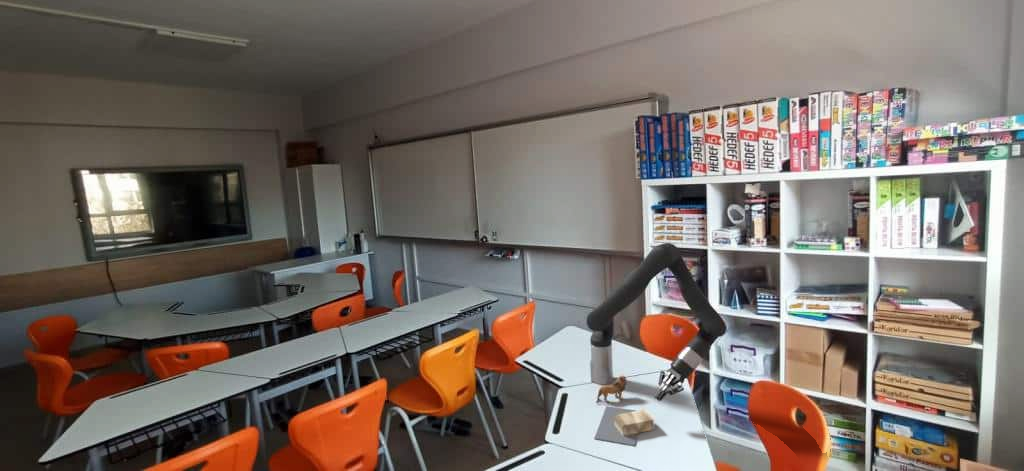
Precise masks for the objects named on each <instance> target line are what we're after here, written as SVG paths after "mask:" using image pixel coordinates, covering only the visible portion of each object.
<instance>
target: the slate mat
mask: <svg viewBox="0 0 1024 471" xmlns="http://www.w3.org/2000/svg"><path fill="white" fill-rule="evenodd" d="M633 411H637V410H635V409H630V408H629V409H627V408H622V407H616V406H615V407H614V406H608V405H606V406H605V408H604V412H603V414H602V416H601V419H600V423H599V425H598V428H597V430H596V434H595V436H594V438H593V439H594V440H596V441H604V442H609V443H614V444H619V445H626V446H631V447H636V442H637V438H638V434H639V433H634V434H630V435H625V436H623V435H622V434H621V433H620V431H619V430H618V429H617V427H616V426H615V420H614V415H618V414H623V413H628V412H633Z"/></svg>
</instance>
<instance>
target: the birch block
mask: <svg viewBox="0 0 1024 471" xmlns="http://www.w3.org/2000/svg"><path fill="white" fill-rule="evenodd" d="M614 420H615V426H616V427H617V429H618V430H619V431H620V433H621V434H622V435H623V436H625V435H630V434H634V433H638V434H639V433H643V432H647V431H648V432H649V431H653V430H655V427H654V426H655V425H654V424H655V423H654V422H655V420H654V418H653V417H652V416H651V415H650V414H649V413H648V412H647V411H646V410H645V409H639V410H636V411H633V412H628V413H623V414H618V415H614Z"/></svg>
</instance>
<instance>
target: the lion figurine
mask: <svg viewBox="0 0 1024 471" xmlns="http://www.w3.org/2000/svg"><path fill="white" fill-rule="evenodd" d="M616 378H617V379H616V381H615V382H614V384H610V385H608V384H602V385H601V386H600V388H599V389H598V394H597V398H596V402H595V403H596V404H599V402H600V401H601V398H600V397H601V396H603V400H604V402H605V403H606V404H610V401H609V400H608V395H614V397H615V399H616V398H618V399H619V401H623V398H622V393H623V392H624V391H625V390H626V387H627V383H628V381H627V378H626V376H625V375H619V376H618V377H616Z"/></svg>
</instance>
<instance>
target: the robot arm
mask: <svg viewBox="0 0 1024 471" xmlns="http://www.w3.org/2000/svg"><path fill="white" fill-rule="evenodd" d="M683 258H684V257H683V256H682V254H681V252H680V250H679V249H678V247H677V246H676V245H675V244H673V243H671V242H665V243H661V244H658V245H655V246H654V247H653V248H652V249H651V250H650V251H649V253H648V254H647V255H646V256H645V258H644V259H643V260H642V261H641V262H640V264H639V265H638V266H637V267H636V268H634V269H633V270H632V271H631V272H629V274H628V275H627V276H625V277H624V278H623V279H622V280H621V281H620V282H618V283H619V284H617V285H616V287H614V289H613V290H612V291H611V292H610V294H609V295H607V297H606V298H605V300H604V301H603V302H602V303H600V304H599V305H598V306H597V307H595V308H594V309H593V310H591V311H590V312H589V313H588V314H587V316H586V321H585V322H586V325H587V328H588V329H590V330H591V332H592V333H591V335H590V341H589V342H590V361H589V366H590V367H589V369H590V382H593V383H595V384H599V385H608V384H611V383H613V381H614V373H613V372H614V371H613V369H614V366H613V364H614V363H613V341H612V340H613V338H614V318H615V316H616V315H618V314H619V313H620V312H622V311H623V310H624V309H627V307H629V306H631V305H632V303H634V302H635V301H636V300H637V299H638V298H639V297H641V296H642V294H644V292H645V291H646V289H647V288H648V286H649V284H650V283H651V281H652V280H653V279H654V278H655V277H657V275H659V274H660V273H661V272H663V271H664V270H667V269H668V270H669V271H670V272H671V274H672V275H673V277H674V278H675V280H676V282H677V284H678V285H677V286H678V288H679V291H680V294H681V296H682V298H683V300H684V302H685V303H686V305H687V306H688V308H689V310H691V312H692V314H693V315H694V316H696V317H697V318H698V319H699V321H700V322H701V324H702V325H701V326H700V327H699V329H698V331H697V332H696V334H695V335H694V336H693V338H691V340H690V341H689V342H688V343H687V345H686V346H685V347H684V348H682V350H680V351H679V353H678V354H677V355H676V357H675V358H674V360H672V362H671V363H670V368H668V369H667V370H666V371H664V370H661V371H659V372H660V374H659V378H658V383H657V384H658V385H659V389H658V390H657V391H656V392H655V394H654V398H655V399H656V400H657V401H659V402H661V401H662V400H663V399H664V398H665V396H667V395H670V396H672V395H675V394H678V393H680V392H683V391H684V390H685V388H684V387H683V383H684V382H685V380H687V379H689V378H690V377H691V375H692V374H693V373H694V371H696V370H697V368H698V367H699V366H700V364H701V363H702V361H703V359H704V358H705V357H706V356H707V355H708V353H709V352H710V350H711V349H712V348H711V347H712V346H713V344H714V343H715V342H716V341H717V340H718V338H720V337H723V336H724V335H725V334H726V332H727V328H728V327H727V324H726V322H725V320H724V319H723V318H722V316H721V314H719V313H718V311H716V309H715V308H714V307H713V306H712V305H711V303H710V301H709V299H707V297H706V295H705V294H704V292H703V291H702V289H701V288H700V287H699V285H698V284H697V282H696V281H695V279H694V277H693V276H692V274H691V272H690V270H689V268H688V266H687V265H686V264H687V263H685V260H684V259H683Z"/></svg>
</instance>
